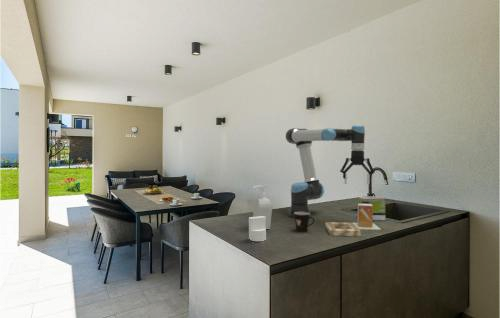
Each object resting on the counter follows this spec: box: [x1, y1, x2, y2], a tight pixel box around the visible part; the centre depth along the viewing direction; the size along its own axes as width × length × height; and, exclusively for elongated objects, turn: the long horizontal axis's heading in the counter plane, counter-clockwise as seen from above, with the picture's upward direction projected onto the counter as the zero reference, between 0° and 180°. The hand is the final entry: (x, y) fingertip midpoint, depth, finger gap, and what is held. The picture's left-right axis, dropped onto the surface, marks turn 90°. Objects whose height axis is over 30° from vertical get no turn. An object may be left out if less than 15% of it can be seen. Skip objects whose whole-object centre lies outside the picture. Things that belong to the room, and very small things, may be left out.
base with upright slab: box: [248, 216, 267, 241], centre depth 149 cm, size 9×9×12 cm
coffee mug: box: [294, 212, 315, 233], centre depth 165 cm, size 12×9×10 cm
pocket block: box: [324, 221, 362, 238], centre depth 163 cm, size 16×18×3 cm
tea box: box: [357, 196, 386, 221], centre depth 193 cm, size 15×10×15 cm
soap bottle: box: [251, 185, 273, 230], centre depth 170 cm, size 12×10×26 cm
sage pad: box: [352, 222, 381, 231], centre depth 174 cm, size 14×14×1 cm
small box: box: [357, 203, 374, 227], centre depth 173 cm, size 8×6×13 cm
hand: (356, 184), depth 179 cm, fingers open, 13 cm apart
